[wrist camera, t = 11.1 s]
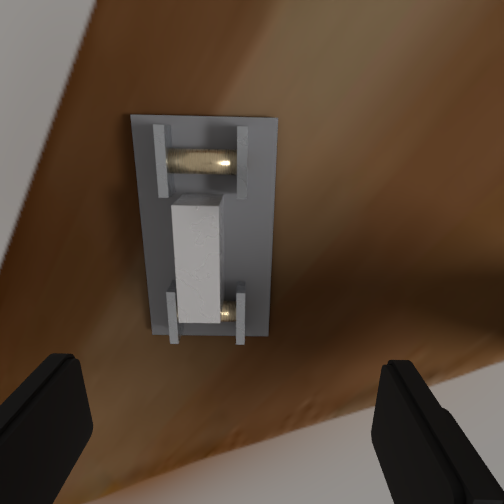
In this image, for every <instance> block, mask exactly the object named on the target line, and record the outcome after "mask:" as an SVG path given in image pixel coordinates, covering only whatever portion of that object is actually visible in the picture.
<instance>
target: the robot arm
mask: <svg viewBox="0 0 504 504" xmlns="http://www.w3.org/2000/svg"><path fill="white" fill-rule="evenodd" d="M92 431H93V422H92V417H91V412H90V408H89V403H88V398H87V394H86V389H85V384H84V380H83V375H82V370H81V365H80V362H79V360H78V359H75V357H74V355H73V354H56V353H53V354H51V355H49V356H48V357H47V358H46V359H45V360H44V361H43V362H42V363H41V364H40V365H39V366H38V367H37V368H36V369H35V370H34V371H33V372H32V373H31V375H30V376H29V377H28V378H27V379H26V380H25V381H24V382H23V383H22V384H21V385H20V386H19V387H18V388H17V389H16V390H15V391H14V392H13V393H12V394H11V395H10V396H9V397H8V398H7V399H6V400H5V401H4V402H3V403H2V404H1V405H0V504H53V502H54V500H55V498H56V497H57V495H58V493H59V491H60V490H61V488H62V486H63V484H64V483H65V481H66V479H67V477H68V476H69V474H70V472H71V470H72V469H73V467H74V465H75V463H76V462H77V460H78V458H79V456H80V455H81V453H82V451H83V449H84V448H85V446H86V444H87V442H88V441H89V439H90V437H91V434H92ZM371 437H372V443H373V446H374V449H375V452H376V455H377V457H378V460H379V463H380V466H381V468H382V471H383V473H384V477H385V479H386V482H387V485H388V488H389V490H390V493H391V496H392V499H393V501H394V504H504V491H503V489H502V488H501V487H500V485H499V484H498V482H497V481H496V479H495V478H494V476H493V475H492V474H491V472H490V470H489V469H488V468H487V466H486V465H485V463H484V462H483V460H482V459H481V457H480V456H479V454H478V453H477V451H476V450H475V448H474V447H473V445H472V444H471V443H470V441H469V440H468V438H467V437H466V435H465V434H464V432H463V431H462V429H461V428H460V426H459V425H458V423H456V421H455V419H454V418H453V416H452V415H451V414H450V413H449V411H447V410H446V409H444V408H442V407H441V406H440V404H439V402H438V401H437V400H436V398H435V397H434V395H433V394H432V392H431V390H430V389H429V387H428V386H427V384H426V383H425V381H424V380H423V378H422V377H421V375H420V374H419V372H418V371H417V369H416V368H415V366H414V365H413V363H412V362H411V361H409V360H389V361H388V364H387V365H383V366H382V369H381V375H380V381H379V387H378V393H377V399H376V405H375V411H374V417H373V424H372V430H371Z"/></svg>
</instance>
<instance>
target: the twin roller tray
mask: <svg viewBox="0 0 504 504" xmlns="http://www.w3.org/2000/svg"><path fill="white" fill-rule="evenodd" d="M153 132H154V145H155V158H156V170H157V183H158V196H159V198H169V197H170V196H172V195H173V194H174V193H175V180H174V174H215V175H237V199H247V156H248V127H245V126H237V150H226V149H179V148H173V147H172V131H171V125H156V124H153ZM245 285H246V281H237V292H236V301H224V302H223V309H222V316H221V322H236V345H244V343H245ZM166 298H167V310H168V323H169V336H170V344H179V341H180V338H181V335H182V332H183V323H179V320H178V304H177V289H176V280H172V282H171V284H170V286H169V287H168V289H167V291H166Z"/></svg>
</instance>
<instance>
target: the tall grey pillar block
mask: <svg viewBox="0 0 504 504" xmlns="http://www.w3.org/2000/svg"><path fill="white" fill-rule="evenodd" d="M171 211H172V226H173V242H174V257H175V273H176V289H177V304H178V320H179V323H220V322H221V316H222V309H223V302H224V296H225V286H224V194H189V193H184V194H183V195H182V196H181V197H180V198H179V199H177V200H176V201H175V202H174V203H173V204H172V205H171Z"/></svg>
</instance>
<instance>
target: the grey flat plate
mask: <svg viewBox="0 0 504 504" xmlns="http://www.w3.org/2000/svg"><path fill="white" fill-rule="evenodd" d="M130 116H131V126H132V136H133V146H134V156H135V166H136V176H137V186H138V196H139V206H140V216H141V226H142V236H143V246H144V256H145V266H146V276H147V286H148V296H149V306H150V316H151V326H152V335H169V323H168V310H167V298H166V291H167V289H168V287H169V286H170V284H171V282H172V280H176V273H175V257H174V242H173V226H172V211H171V205H172V204H173V203H174V202H175V201H176V200H177V199H179V198H180V197H181V196H182V195H183V194H184V193H189V194H224V286H225V296H224V301H236V292H237V281H246V285H245V336H268V331H269V309H270V287H271V265H272V243H273V220H274V198H275V176H276V154H277V131H278V118H259V117H215V116H172V115H130ZM153 124H156V125H171V131H172V147H173V148H179V149H226V150H237V126H245V127H248V156H247V199H237V175H215V174H174V180H175V193H174V194H173V195H172V196H170V197H169V198H159V196H158V183H157V170H156V158H155V145H154V132H153ZM182 335H210V336H236V322H220V323H183V332H182Z"/></svg>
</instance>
